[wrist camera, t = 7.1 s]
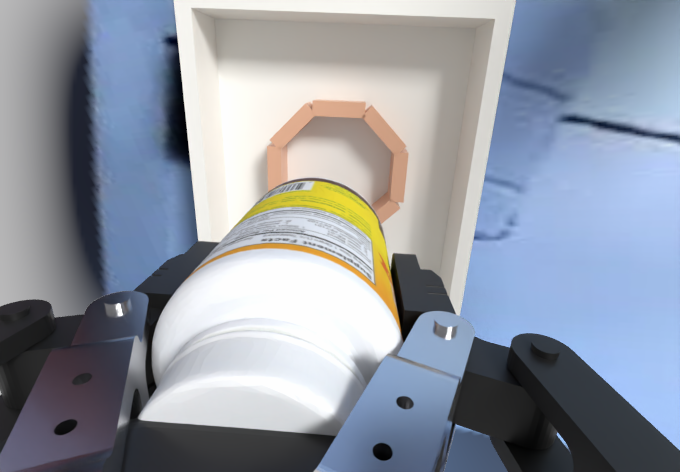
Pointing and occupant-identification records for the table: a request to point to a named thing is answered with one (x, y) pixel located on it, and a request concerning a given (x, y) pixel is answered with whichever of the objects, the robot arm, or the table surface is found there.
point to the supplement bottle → (280, 317)
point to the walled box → (347, 111)
